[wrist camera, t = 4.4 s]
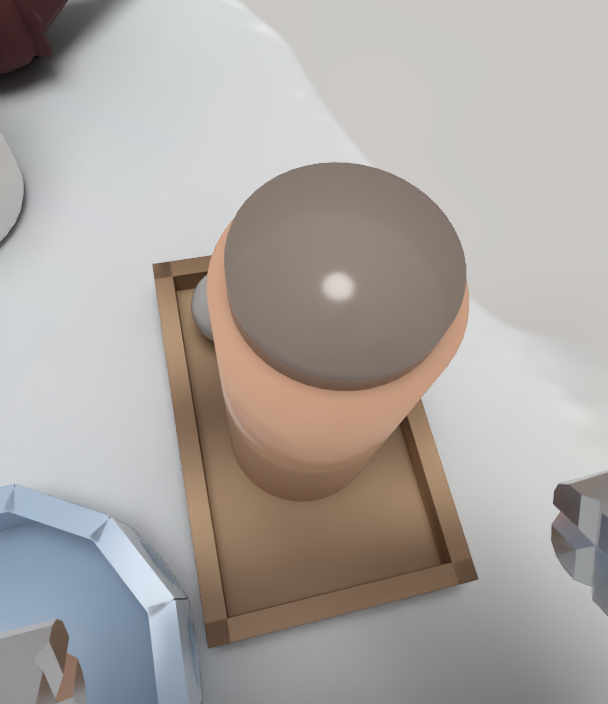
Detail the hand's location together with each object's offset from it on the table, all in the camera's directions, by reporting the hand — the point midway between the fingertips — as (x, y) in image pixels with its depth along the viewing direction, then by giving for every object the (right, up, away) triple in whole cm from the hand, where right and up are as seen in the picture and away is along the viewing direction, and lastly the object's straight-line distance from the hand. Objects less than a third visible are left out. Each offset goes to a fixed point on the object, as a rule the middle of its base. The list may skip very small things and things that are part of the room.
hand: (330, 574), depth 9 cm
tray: (-1, +1, +13) cm, 14 cm away
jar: (0, +1, +13) cm, 13 cm away
